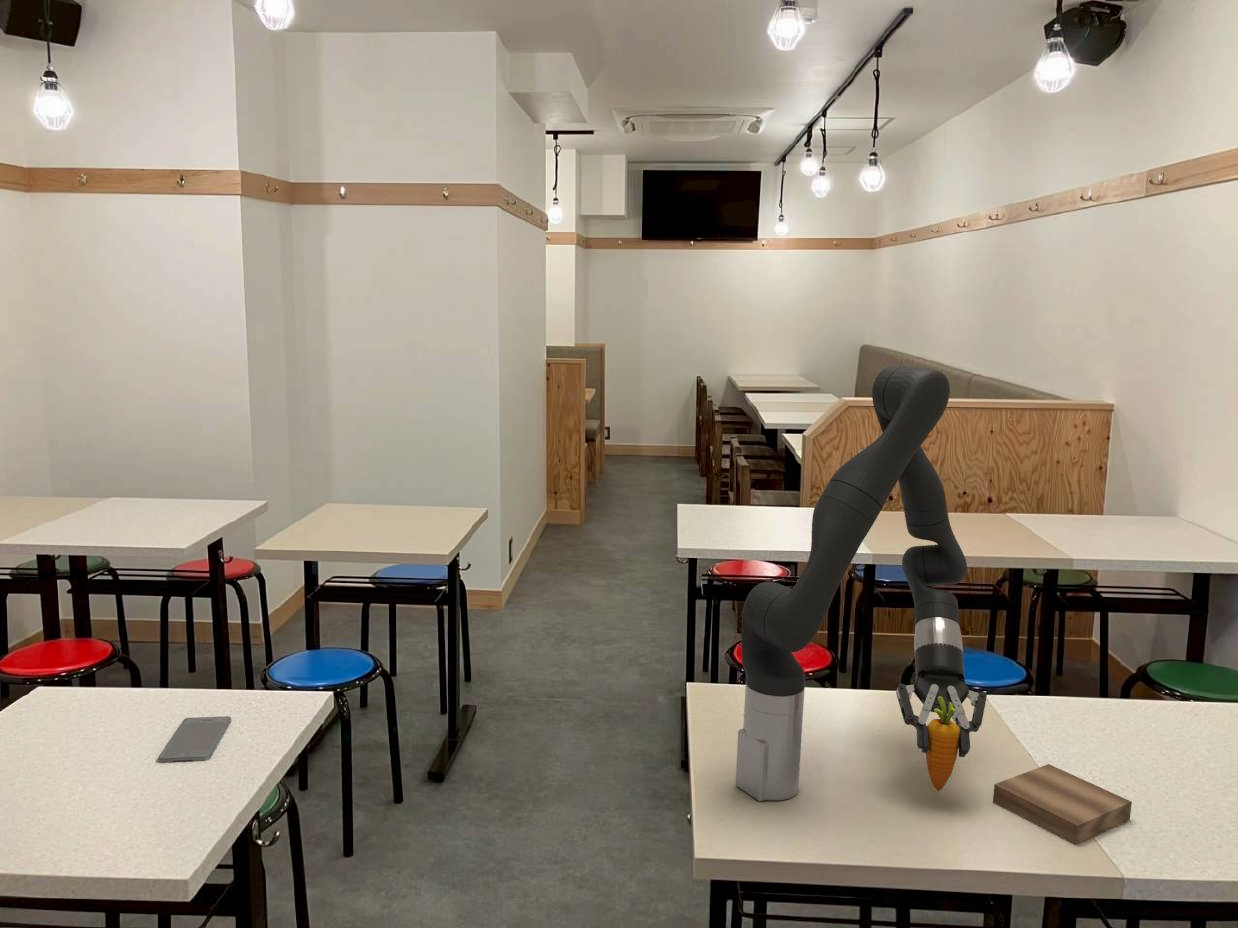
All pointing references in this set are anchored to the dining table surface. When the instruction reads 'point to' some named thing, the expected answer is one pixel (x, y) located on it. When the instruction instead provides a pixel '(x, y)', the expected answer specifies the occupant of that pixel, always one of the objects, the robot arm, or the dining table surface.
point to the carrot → (942, 745)
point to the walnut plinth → (1062, 803)
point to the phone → (195, 739)
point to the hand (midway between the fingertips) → (944, 752)
